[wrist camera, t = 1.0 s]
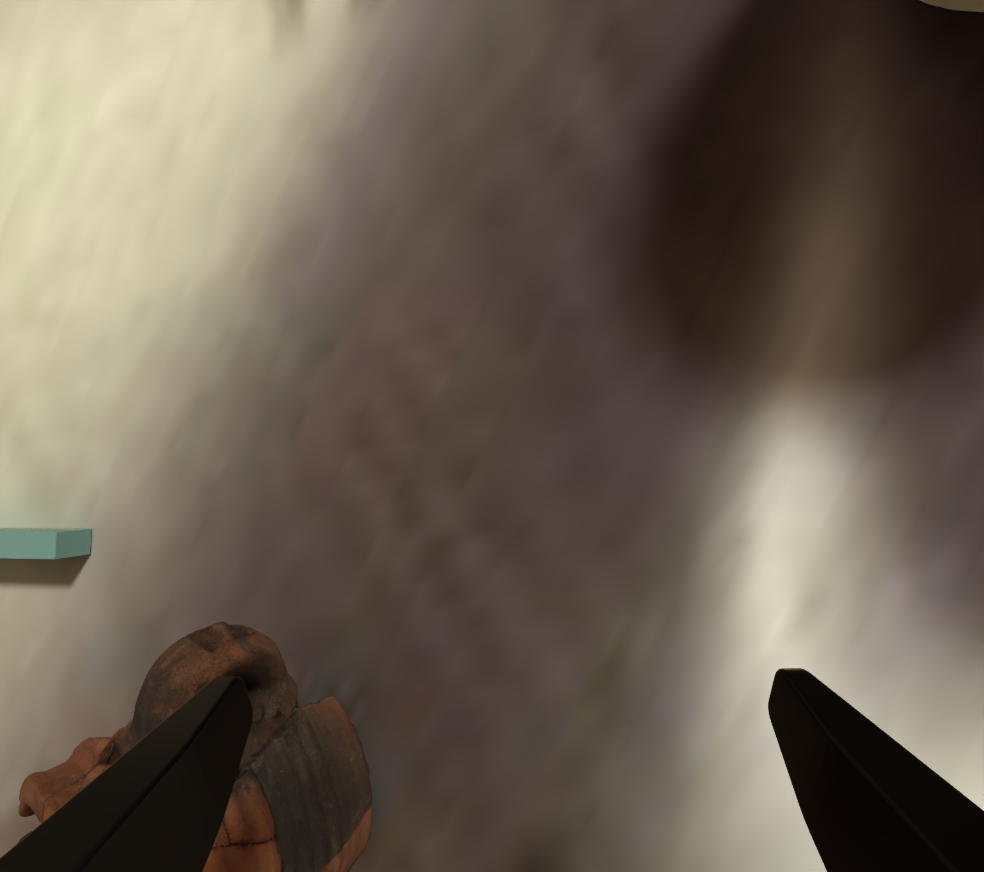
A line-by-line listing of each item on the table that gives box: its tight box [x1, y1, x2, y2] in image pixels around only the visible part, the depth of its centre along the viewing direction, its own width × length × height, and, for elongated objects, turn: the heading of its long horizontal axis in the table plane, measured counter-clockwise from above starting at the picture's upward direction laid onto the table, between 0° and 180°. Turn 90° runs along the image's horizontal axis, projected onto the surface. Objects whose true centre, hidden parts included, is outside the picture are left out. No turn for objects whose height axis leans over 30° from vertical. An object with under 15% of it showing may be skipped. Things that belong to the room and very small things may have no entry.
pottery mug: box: [18, 622, 372, 872], centre depth 18 cm, size 12×9×8 cm
